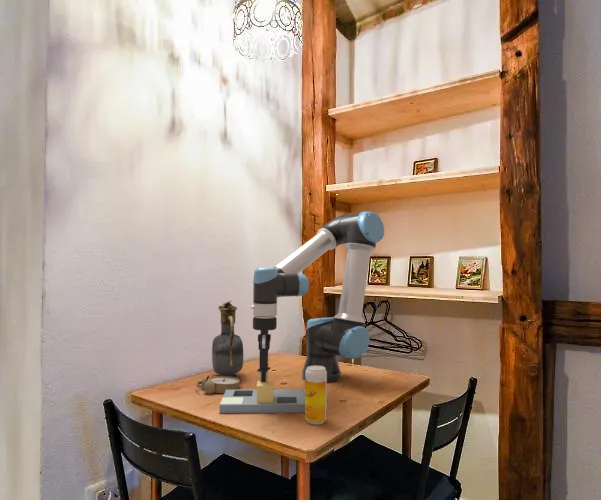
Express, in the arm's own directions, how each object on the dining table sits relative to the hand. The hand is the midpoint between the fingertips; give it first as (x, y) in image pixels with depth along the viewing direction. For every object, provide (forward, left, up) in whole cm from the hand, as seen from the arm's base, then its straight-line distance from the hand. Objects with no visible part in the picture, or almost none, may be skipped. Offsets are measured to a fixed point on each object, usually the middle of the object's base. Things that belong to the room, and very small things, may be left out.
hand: (263, 391), depth 133 cm
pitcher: (+15, -29, -4) cm, 32 cm away
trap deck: (0, 0, -4) cm, 4 cm away
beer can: (-15, +14, -4) cm, 22 cm away
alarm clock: (+16, -16, -5) cm, 23 cm away
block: (-1, +3, -2) cm, 4 cm away
